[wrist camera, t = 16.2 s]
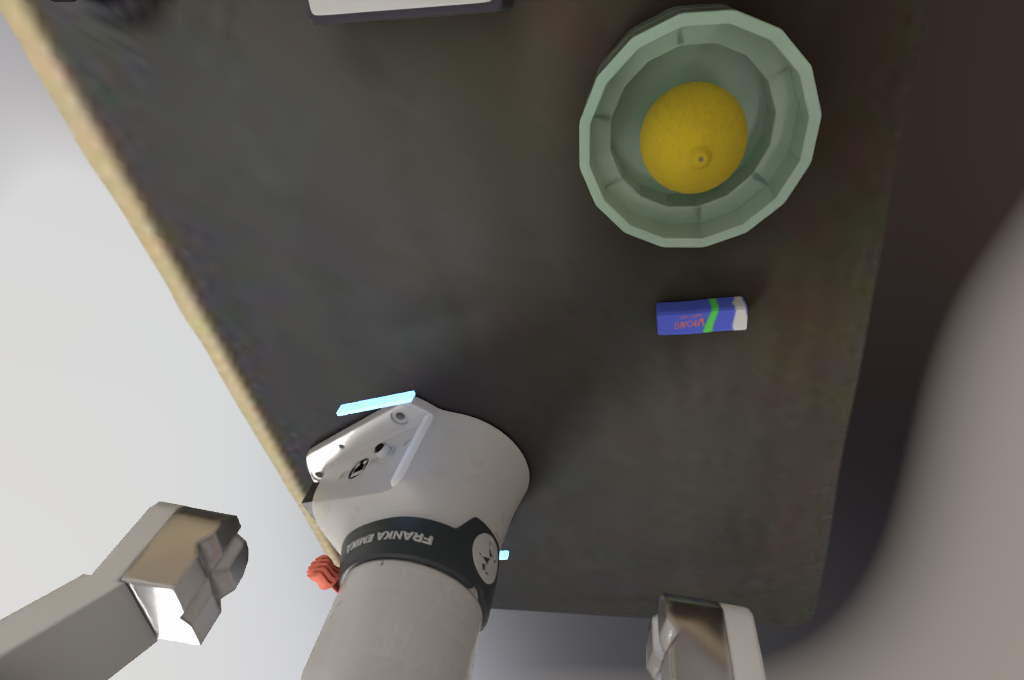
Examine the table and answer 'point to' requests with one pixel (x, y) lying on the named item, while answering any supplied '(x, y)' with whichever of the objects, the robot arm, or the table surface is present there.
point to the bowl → (714, 59)
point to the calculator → (395, 9)
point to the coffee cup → (63, 0)
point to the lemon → (693, 137)
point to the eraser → (701, 316)
